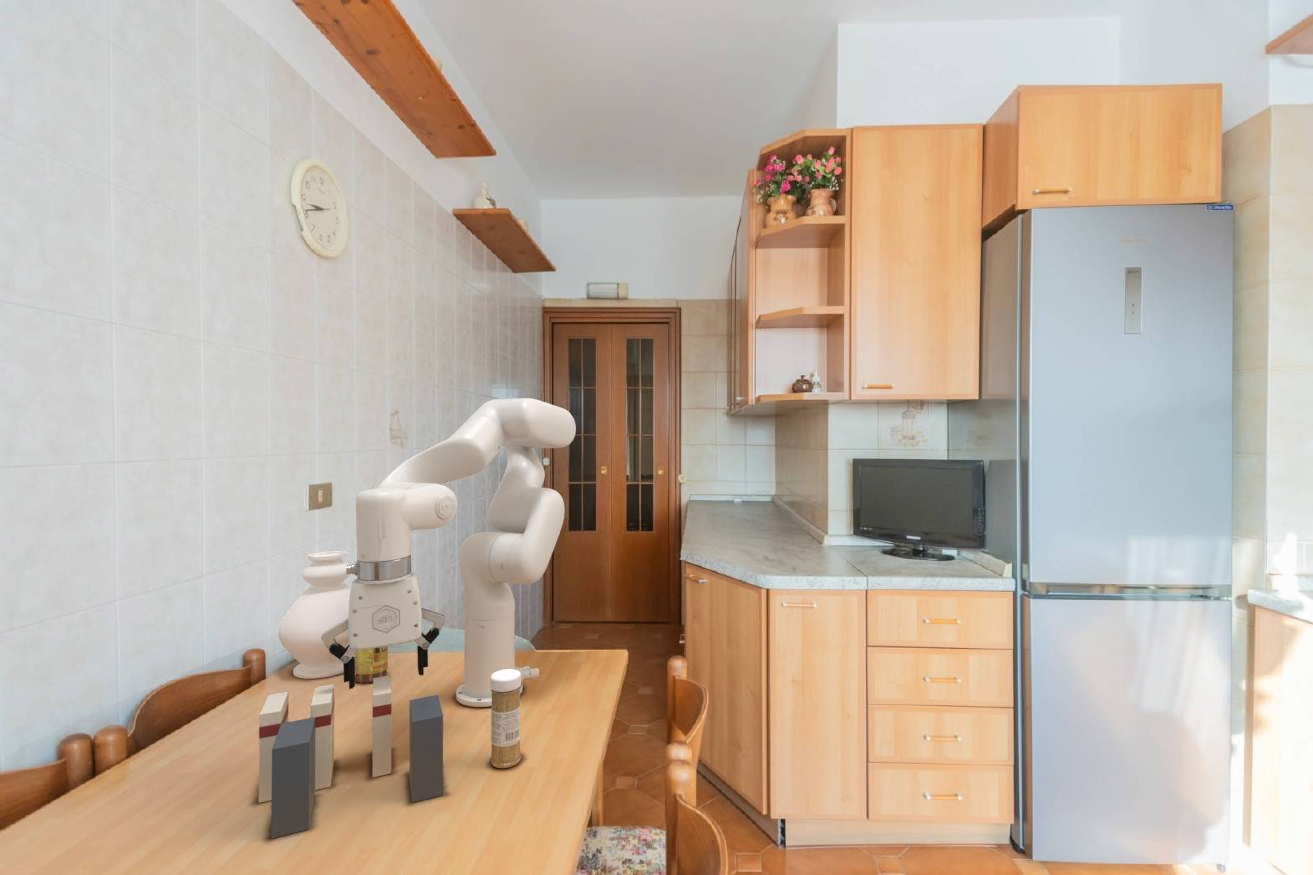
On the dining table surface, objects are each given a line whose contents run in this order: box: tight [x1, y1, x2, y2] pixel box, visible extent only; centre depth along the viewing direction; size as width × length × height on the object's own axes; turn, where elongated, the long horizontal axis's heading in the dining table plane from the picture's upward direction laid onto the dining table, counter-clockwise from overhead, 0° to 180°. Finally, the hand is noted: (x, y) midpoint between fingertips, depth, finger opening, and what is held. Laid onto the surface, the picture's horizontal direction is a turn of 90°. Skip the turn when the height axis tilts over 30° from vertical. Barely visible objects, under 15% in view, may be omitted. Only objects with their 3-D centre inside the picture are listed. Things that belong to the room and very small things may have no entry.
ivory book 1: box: [258, 691, 289, 804], centre depth 81 cm, size 2×7×12 cm, turn 26°
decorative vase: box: [278, 550, 355, 680], centre depth 126 cm, size 18×18×25 cm
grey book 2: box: [408, 694, 444, 804], centre depth 82 cm, size 4×8×11 cm, turn 26°
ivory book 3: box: [371, 675, 393, 778], centre depth 87 cm, size 2×7×12 cm, turn 26°
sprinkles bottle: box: [490, 669, 522, 769], centre depth 87 cm, size 5×5×14 cm
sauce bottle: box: [354, 646, 389, 684], centre depth 120 cm, size 7×6×20 cm
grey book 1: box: [270, 717, 316, 840], centre depth 75 cm, size 4×8×11 cm, turn 26°
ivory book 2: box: [309, 683, 335, 791], centre depth 84 cm, size 2×7×12 cm, turn 26°
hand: (387, 678), depth 88 cm, fingers open, 9 cm apart
